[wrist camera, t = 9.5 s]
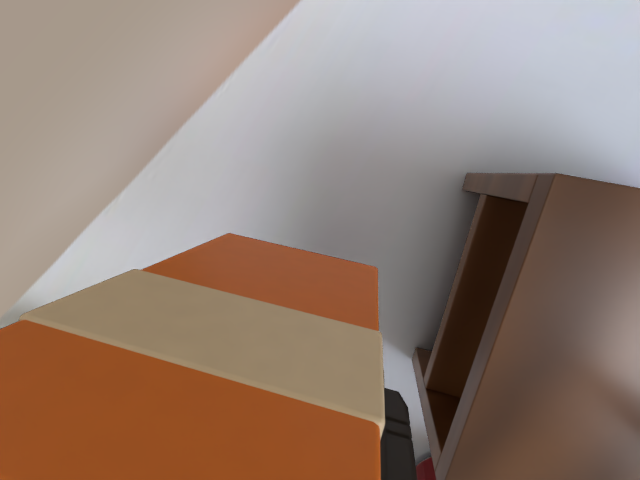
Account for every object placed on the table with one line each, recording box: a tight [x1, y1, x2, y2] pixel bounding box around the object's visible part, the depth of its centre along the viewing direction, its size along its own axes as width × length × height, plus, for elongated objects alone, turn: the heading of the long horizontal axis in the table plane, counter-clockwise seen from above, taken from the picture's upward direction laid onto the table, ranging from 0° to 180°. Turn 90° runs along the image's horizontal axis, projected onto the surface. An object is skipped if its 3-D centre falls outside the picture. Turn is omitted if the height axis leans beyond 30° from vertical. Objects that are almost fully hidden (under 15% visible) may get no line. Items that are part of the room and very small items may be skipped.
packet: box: [0, 233, 385, 480], centre depth 7 cm, size 5×7×8 cm
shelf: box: [412, 173, 640, 480], centre depth 17 cm, size 13×15×11 cm
